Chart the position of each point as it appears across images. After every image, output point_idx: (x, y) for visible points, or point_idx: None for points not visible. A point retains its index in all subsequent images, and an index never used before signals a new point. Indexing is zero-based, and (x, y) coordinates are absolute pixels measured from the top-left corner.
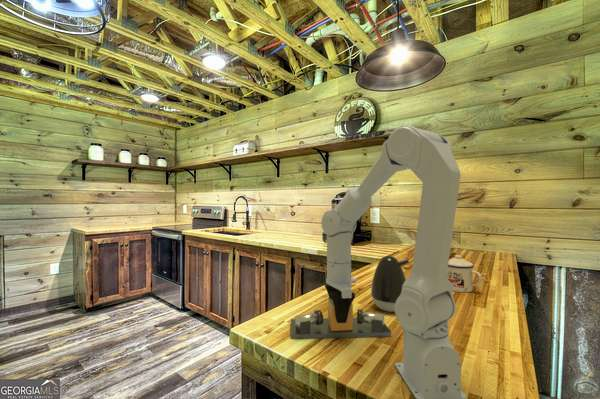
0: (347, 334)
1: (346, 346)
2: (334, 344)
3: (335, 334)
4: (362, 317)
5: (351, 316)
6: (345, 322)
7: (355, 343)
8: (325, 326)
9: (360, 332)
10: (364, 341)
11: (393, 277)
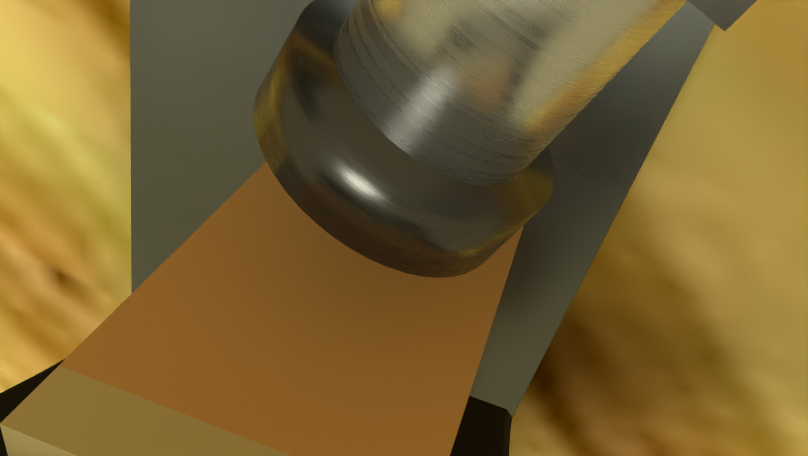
0: (567, 302)
1: (751, 393)
2: (642, 452)
3: (514, 408)
4: (521, 163)
5: (473, 380)
6: (508, 420)
7: (752, 278)
8: None
9: (632, 154)
10: (780, 147)
11: None
